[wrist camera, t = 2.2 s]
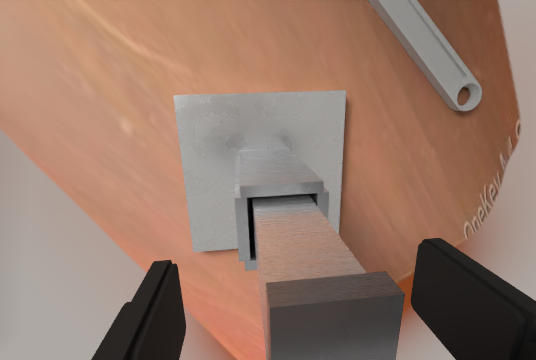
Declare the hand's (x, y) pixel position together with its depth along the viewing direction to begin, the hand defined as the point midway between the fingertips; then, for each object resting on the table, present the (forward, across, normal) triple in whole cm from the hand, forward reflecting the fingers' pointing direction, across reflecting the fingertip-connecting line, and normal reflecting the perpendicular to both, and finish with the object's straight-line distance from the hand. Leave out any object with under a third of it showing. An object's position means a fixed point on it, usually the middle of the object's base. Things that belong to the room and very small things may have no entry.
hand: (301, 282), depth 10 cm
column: (+14, 0, 0) cm, 14 cm away
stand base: (+16, 0, 0) cm, 16 cm away
